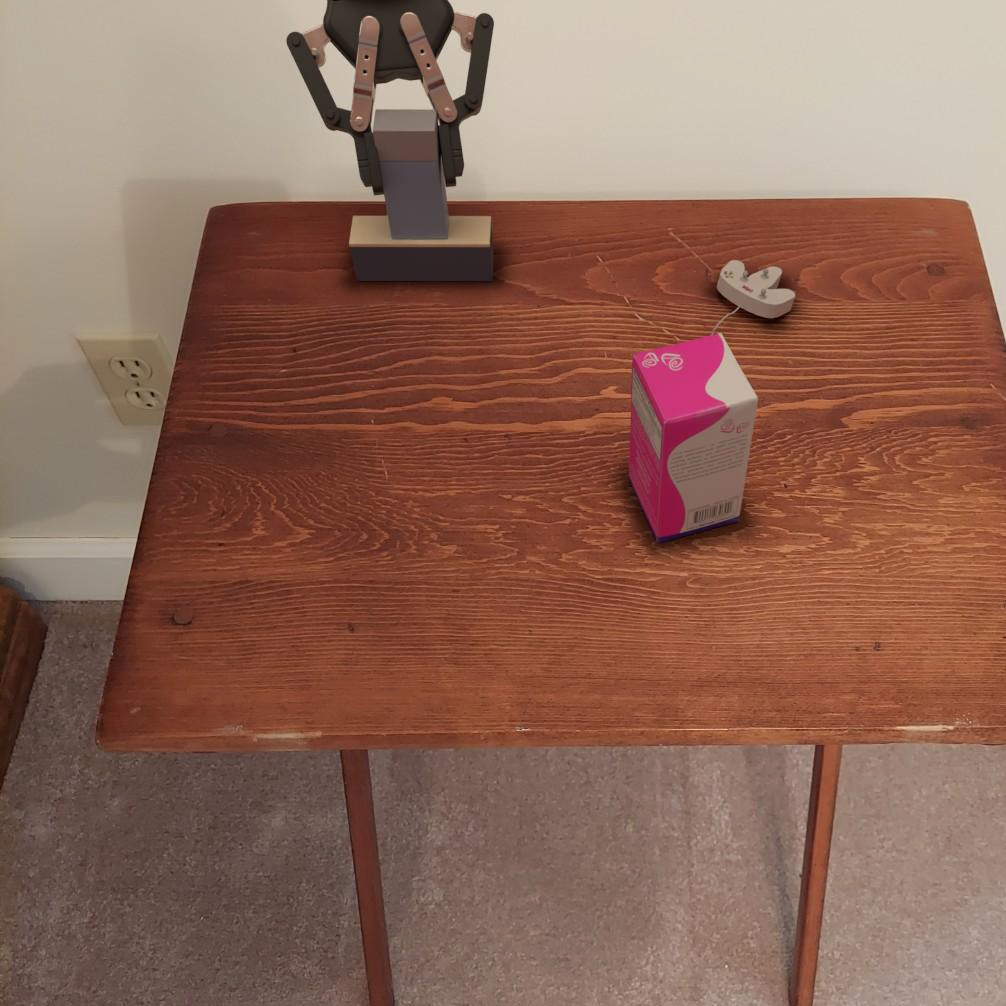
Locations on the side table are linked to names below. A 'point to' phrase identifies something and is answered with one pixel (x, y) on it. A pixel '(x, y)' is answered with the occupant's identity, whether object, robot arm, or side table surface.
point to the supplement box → (690, 436)
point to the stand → (423, 252)
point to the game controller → (754, 290)
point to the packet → (412, 173)
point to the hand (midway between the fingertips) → (414, 188)
